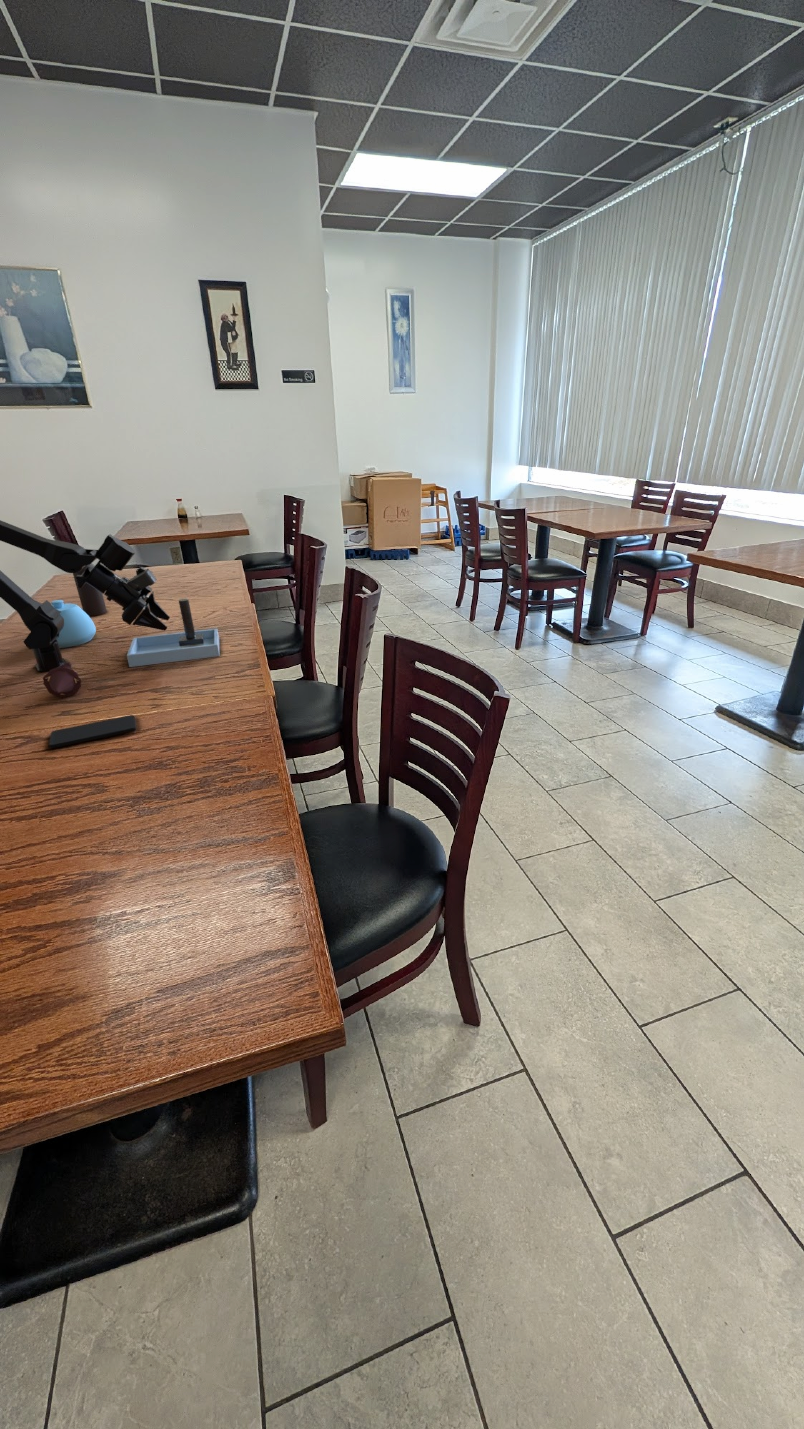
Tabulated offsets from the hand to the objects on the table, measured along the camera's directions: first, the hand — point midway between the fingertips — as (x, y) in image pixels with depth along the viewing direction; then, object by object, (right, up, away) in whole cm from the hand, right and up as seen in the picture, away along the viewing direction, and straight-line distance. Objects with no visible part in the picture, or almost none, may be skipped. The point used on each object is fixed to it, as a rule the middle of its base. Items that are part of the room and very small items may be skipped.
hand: (167, 623), depth 150 cm
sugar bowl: (-34, -3, +16) cm, 38 cm away
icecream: (-14, -19, -20) cm, 31 cm away
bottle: (-40, +10, +41) cm, 58 cm away
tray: (+1, -7, +4) cm, 8 cm away
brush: (+5, -6, +4) cm, 9 cm away
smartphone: (+1, -27, -38) cm, 46 cm away
